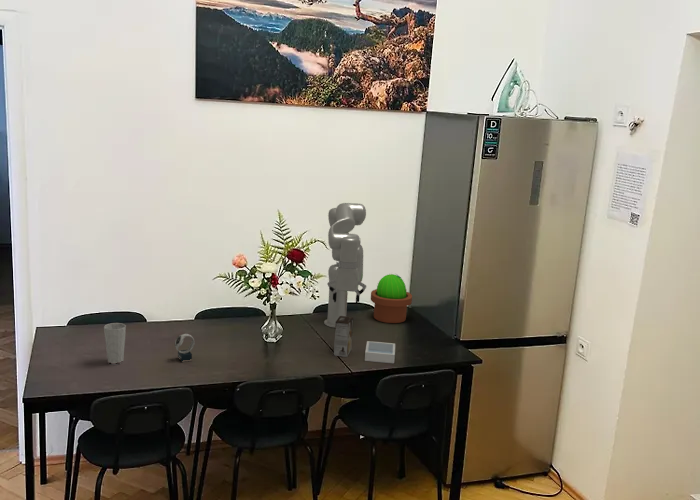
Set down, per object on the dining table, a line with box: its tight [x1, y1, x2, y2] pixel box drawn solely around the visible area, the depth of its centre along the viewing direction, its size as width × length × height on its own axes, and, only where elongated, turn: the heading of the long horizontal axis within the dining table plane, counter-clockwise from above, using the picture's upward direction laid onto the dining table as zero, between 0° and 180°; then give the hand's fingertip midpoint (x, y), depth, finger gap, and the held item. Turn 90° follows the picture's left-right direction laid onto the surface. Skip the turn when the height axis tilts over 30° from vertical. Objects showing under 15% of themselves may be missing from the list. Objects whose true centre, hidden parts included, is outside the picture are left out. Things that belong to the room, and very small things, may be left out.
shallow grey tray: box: [364, 340, 396, 364], centre depth 278 cm, size 14×13×4 cm
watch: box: [174, 333, 196, 362], centre depth 260 cm, size 6×8×11 cm
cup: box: [103, 322, 127, 363], centre depth 253 cm, size 8×8×16 cm
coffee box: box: [333, 315, 354, 358], centre depth 278 cm, size 9×6×16 cm
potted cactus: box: [370, 273, 413, 324], centre depth 329 cm, size 22×22×25 cm
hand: (345, 302), depth 274 cm, fingers open, 9 cm apart
